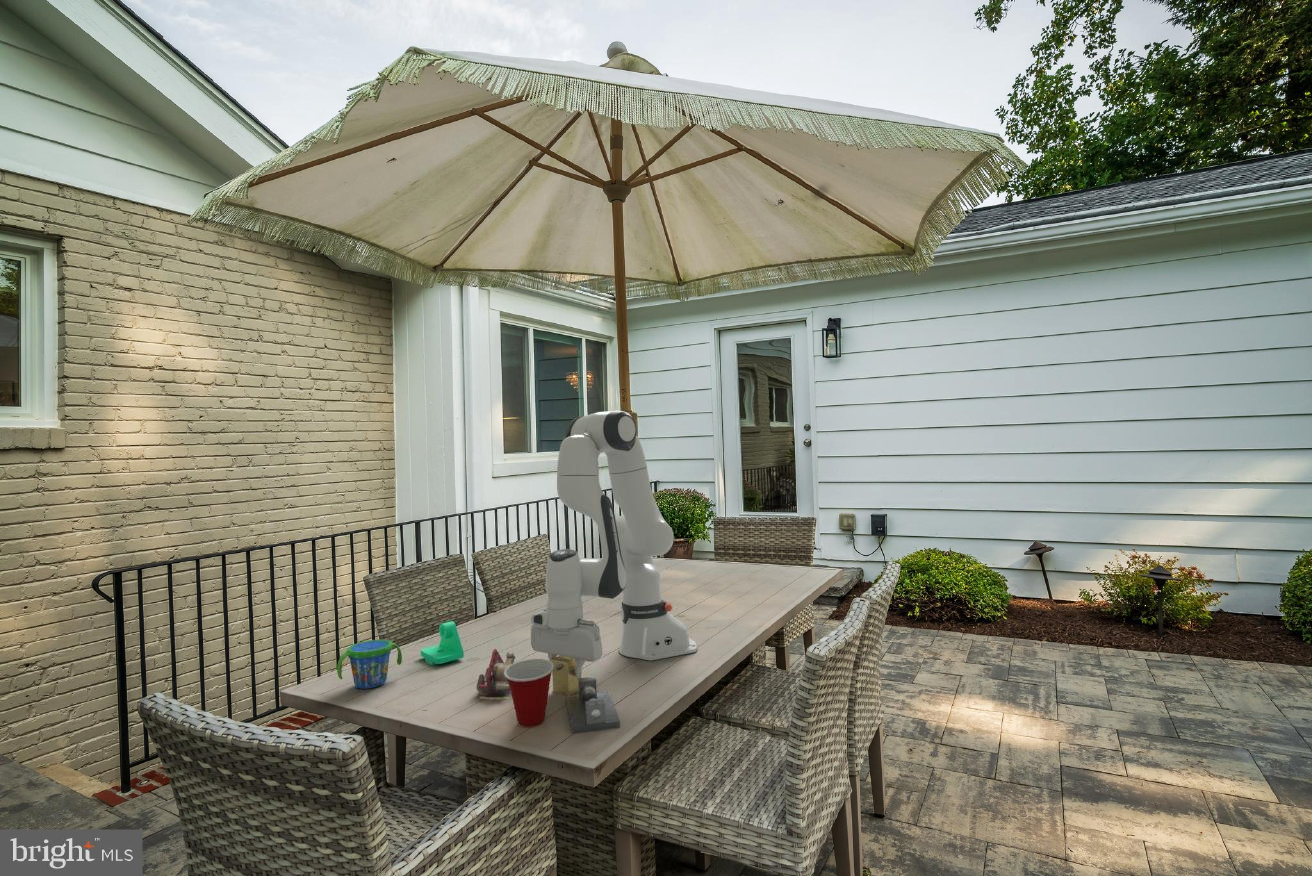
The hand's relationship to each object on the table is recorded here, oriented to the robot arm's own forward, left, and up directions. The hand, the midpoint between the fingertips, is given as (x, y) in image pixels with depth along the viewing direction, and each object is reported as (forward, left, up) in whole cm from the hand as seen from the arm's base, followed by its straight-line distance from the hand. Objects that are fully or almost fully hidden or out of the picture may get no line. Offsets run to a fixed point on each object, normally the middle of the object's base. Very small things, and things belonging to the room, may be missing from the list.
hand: (566, 673), depth 156 cm
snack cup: (+49, -20, -4) cm, 53 cm away
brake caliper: (+17, -5, -4) cm, 18 cm away
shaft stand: (-4, +16, -4) cm, 17 cm away
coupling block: (0, 0, -4) cm, 4 cm away
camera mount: (+33, -35, -4) cm, 48 cm away
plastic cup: (+9, +16, -4) cm, 19 cm away
